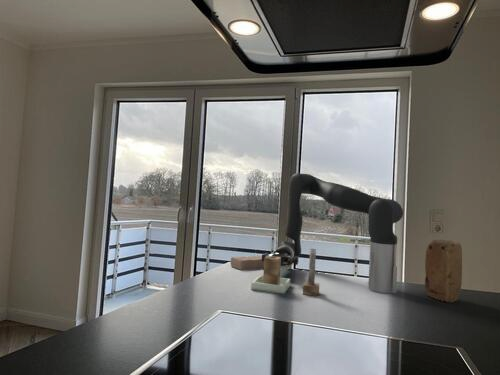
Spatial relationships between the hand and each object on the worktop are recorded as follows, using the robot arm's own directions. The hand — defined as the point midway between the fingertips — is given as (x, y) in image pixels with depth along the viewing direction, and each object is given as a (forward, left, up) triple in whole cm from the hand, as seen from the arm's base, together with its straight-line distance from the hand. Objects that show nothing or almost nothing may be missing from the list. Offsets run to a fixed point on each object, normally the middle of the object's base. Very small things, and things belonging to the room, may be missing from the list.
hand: (277, 261), depth 135 cm
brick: (+16, -22, -8) cm, 28 cm away
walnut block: (0, +9, -7) cm, 12 cm away
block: (-57, -3, -8) cm, 58 cm away
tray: (0, +9, -7) cm, 12 cm away
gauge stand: (-14, +10, -7) cm, 19 cm away
